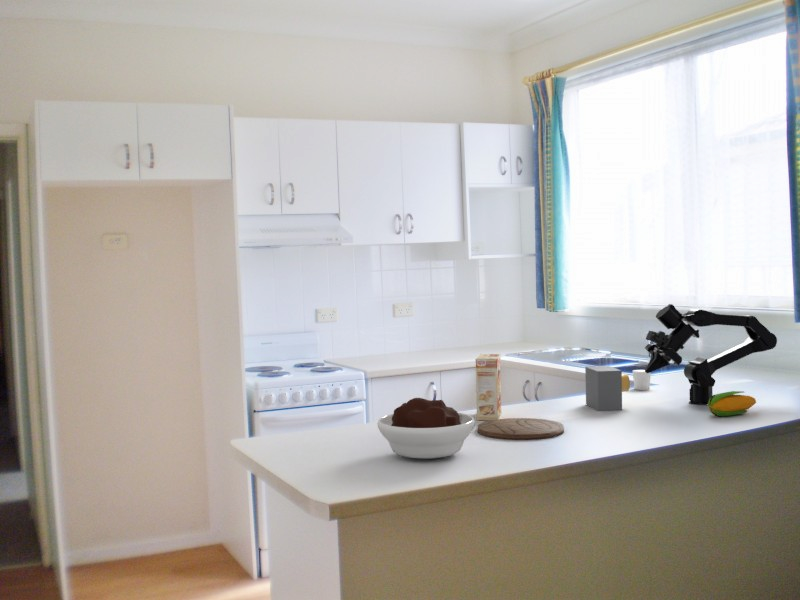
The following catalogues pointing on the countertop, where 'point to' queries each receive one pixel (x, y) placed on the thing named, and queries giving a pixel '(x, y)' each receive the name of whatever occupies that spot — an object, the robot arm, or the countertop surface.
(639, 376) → the shot glass
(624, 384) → the button
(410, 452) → the bowl of chocolate pudding
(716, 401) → the corn
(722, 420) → the countertop surface
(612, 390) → the block
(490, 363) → the coffeecake box
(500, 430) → the trivet
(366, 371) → the countertop surface
